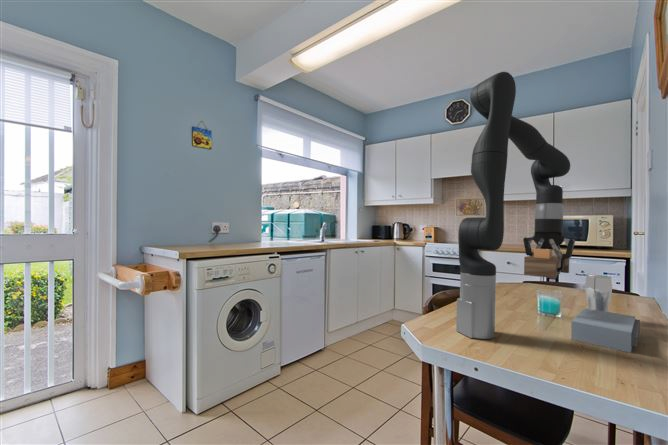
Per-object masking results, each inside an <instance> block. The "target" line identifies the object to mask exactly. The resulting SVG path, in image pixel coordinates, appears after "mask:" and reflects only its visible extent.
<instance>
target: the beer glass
mask: <svg viewBox="0 0 668 445" xmlns="http://www.w3.org/2000/svg"><path fill="white" fill-rule="evenodd" d="M612 283H613V282H612V277H611V276H608V275H599V274H586V275H585V283H584V286H585V287H584V292H585V299H586V302H587V309H593V310H599V311H605V312H609V309H610V308H609V307H610V303H611V299H612V294H613V284H612Z"/></svg>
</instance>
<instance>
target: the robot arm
mask: <svg viewBox="0 0 668 445" xmlns="http://www.w3.org/2000/svg"><path fill="white" fill-rule="evenodd" d="M516 87H517V86H516V82H515V79H514V76H513V75H512V74H511V73H510V72H508V71H499V72H497V73H495V74H493V75H491V76H490V77H488V78H486V79H484V80H483V81H481V82H479V83H478V84H476V85H475V86H474V87H473V88H472V89H471V92H470V95H469V98H470V99H469V100H470V103H471V105H472V107H473V108H474V109H475V111H477V113H478V114H480V116H482V117H483V118H484V119H485V120H487V121H486V122H485V125H484V127H483V129H482V131H481V133H480V135H479V136H478V139H477V141H476V143H475V145H474V147H473V150H472V154H471V155H472V156H471V165H470V174H471V178H472V179H473V181H474V183H475V186H477V188H478V189H479V191H480V192H481V194H482V197H483V199H484V203H485V210H486V213H485V216H484V217H465V218H463V219H462V220H461V222H460V223H459V226H458V232H457V234H458V236H457V238H458V240H457V241H458V260H459V262H458V263H459V267H460V279H459V283H460V284H459V297H458V298H456V320H455V321H456V326H455V330H456V332H458V333H460V334H462V335H464V336H466V337H467V338H470V339H480V340H489V339H494V338H495V334H496V331H495V330H496V290H497V288H496V285H497V283H496V281H497V267H496V265H495V263H493V262H490V261H489V260H487V259H485V258H483V256H482V255H480V253H479V251H497V250H500V248H501V246H502V244H503V242H504V235H505V231H504V230H505V215H504V214H505V212H504V211H505V210H504V209H505V207H504V206H505V204H504V201H505V200H504V199H505V185H506V184H505V183H506V174H507V165H508V152H509V151H508V148H509V140H510V141H511V142H512V143H513V144H514V145H515V147H516V148H517V149H518V151H519V152H520V153H521V154H522V155H523V156H524V157H525V158H526V159H527V160H529V161H533V162H532V164H531V167H530V174H531V178H532V182H533V185H534V189H535V192H536V195H535V209H534V234H533V236H532V237H531V236H530V237H523V244H524V251H525V255H526V256H534V252H533V251H532V247H531V244H532V243H533V242H534V243H535V245H536V247H535V248H534V249H551V250H554V252H555V253H556V255H557V257H558V258H561V267H559V268H557V272H560V273H562V272H561V270H563V269H564V260H565V259H568V258H569V259H570V258H572V255H573V252H574V247H575V243H576V240H575V239H570V238H566V237H565V236H564V207H563V198H564V197H563V196H564V195H563V194H564V193H563V192H564V191H563V187H562V186H561V185H557V184H552V183H551V182H550V179H554V178H559V177H564V176H566V175H567V174H569V172H570V170H571V162H570V160H569V158H568V157H567V155H566V154H565V153H563V152H562V151H561V150H559V149H558V148H556V147H555V146H553V145H552V144H551V143H548V141H547V140H546V139H545V137H544V136H543V135H542V134H541V132H539V130H538V129H537V128H536V127H534V126H533V125H532V124H531V123H529V122H526V121H524V120H522V119H520V118H517V117H515V116H513V112H514V107H515V101H516V94H517V88H516ZM563 243H565V246H566V250H565V251H566V252H565V254H563V252H562V248H561V245H562V244H563Z"/></svg>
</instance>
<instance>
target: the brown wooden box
mask: <svg viewBox="0 0 668 445" xmlns="http://www.w3.org/2000/svg"><path fill="white" fill-rule="evenodd" d="M523 264H524V265H523V275H524V276H530V277H531V276H532V277H533V276H534V277H540V278H548V279H549V278H550V279H557V276H559V275H561V273H563V274H564V273H565V274H569V273H570V258H568V259H565V260H564V269H563V270H561V272H557V268H559V267H561V258H558V257H556V256H552V259H548V258H536V257H534V256H529V255H526V256H524V262H523Z"/></svg>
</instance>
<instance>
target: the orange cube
mask: <svg viewBox="0 0 668 445" xmlns="http://www.w3.org/2000/svg"><path fill="white" fill-rule="evenodd" d="M552 251H553V250H551V249H535V248H534V249H533V253H534V257H536V258H548V259H552Z"/></svg>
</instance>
